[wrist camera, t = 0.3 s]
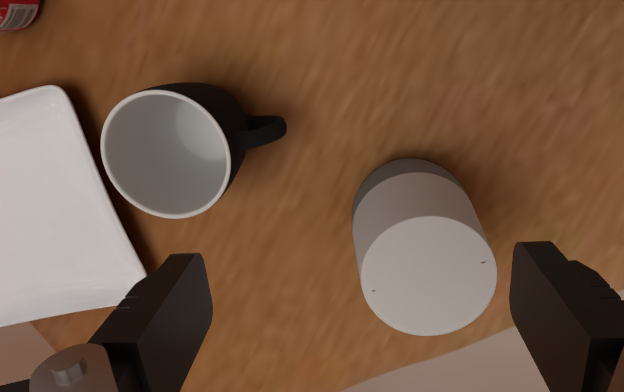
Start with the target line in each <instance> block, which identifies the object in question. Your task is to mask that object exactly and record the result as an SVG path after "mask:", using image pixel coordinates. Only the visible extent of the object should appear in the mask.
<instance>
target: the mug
mask: <svg viewBox="0 0 624 392" xmlns="http://www.w3.org/2000/svg"><path fill="white" fill-rule="evenodd" d="M286 130H287V125H286V122H285V120H284V119H283V118H282V117H279V116H251V115H247V114H245V113H244V111H243V109H242V107H241V106H240V104H239V103H238V102H237V101H236V100H235V99H234V98H233V97H232V96H231V95H230V94H229V93H227V92H226V91H224V90H222V89H220V88H218V87H215V86H212V85H208V84H203V83H174V84H166V85H160V86H156V87H151V88H147V89H144V90H141V91H138V92H136V93H134V94H132V95H129V96H128V97H126V98H124V99H123V100H122V101H121V102H119V103H118V104H117V105H116V106H115V107H114V108H113V110H112V111H111V112H110V114H109V115H108V117H107V119H106V121H105V123H104V126H103V129H102V133H101V141H100V148H101V156H102V161H103V164H104V167H105V170H106V172H107V174H108V177H109V178H110V180H111V182H112V183H113V185H114V186H115V188H116V189H117V190H118V191H119V192H120V194H121V195H122V196H123V197H124V198H125V199H127V200H128V201H129V202H130V203H132V204H133V205H134V206H136V207H137V208H139V209H141V210H143V211H145V212H147V213H149V214H152V215H155V216H158V217H163V218H170V219H180V218H188V217H192V216H195V215H198V214H200V213H202V212H204V211H206V210H207V209H209V208H210V207H212V206H213V205H214V204H215V203H216V202H217V201H218V200H219V199H220V198H221V197H222V196H223V194H224V193H225V192H226V190H227V189H228V187H229V186H230V184H231V183H232V181H233V179H234V178H235V176H236V174H237V172H238V170H239V168H240V166H241V164H242V161H243V159H244V156H245V153H246V150H248V149H251V148H254V147H258V146H262V145H265V144H268V143H271V142H274V141H276V140H278V139H280V138H282V137H283V136H284V135H285V133H286Z"/></svg>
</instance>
